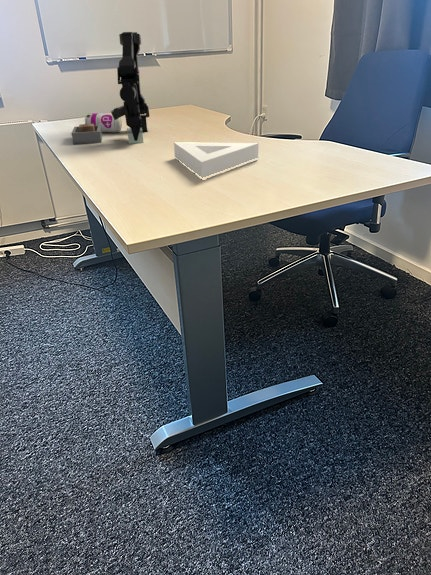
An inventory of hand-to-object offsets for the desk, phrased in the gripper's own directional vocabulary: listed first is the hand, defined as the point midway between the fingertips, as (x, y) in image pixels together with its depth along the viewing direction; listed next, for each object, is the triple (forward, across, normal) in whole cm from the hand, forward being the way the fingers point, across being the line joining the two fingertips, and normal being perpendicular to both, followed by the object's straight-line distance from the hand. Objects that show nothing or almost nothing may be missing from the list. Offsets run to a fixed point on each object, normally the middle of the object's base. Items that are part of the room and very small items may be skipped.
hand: (135, 139), depth 181 cm
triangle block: (+2, +46, +28) cm, 54 cm away
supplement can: (-3, -28, -20) cm, 35 cm away
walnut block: (0, -10, -20) cm, 22 cm away
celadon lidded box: (+1, 0, 0) cm, 1 cm away
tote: (+1, -10, -20) cm, 22 cm away
